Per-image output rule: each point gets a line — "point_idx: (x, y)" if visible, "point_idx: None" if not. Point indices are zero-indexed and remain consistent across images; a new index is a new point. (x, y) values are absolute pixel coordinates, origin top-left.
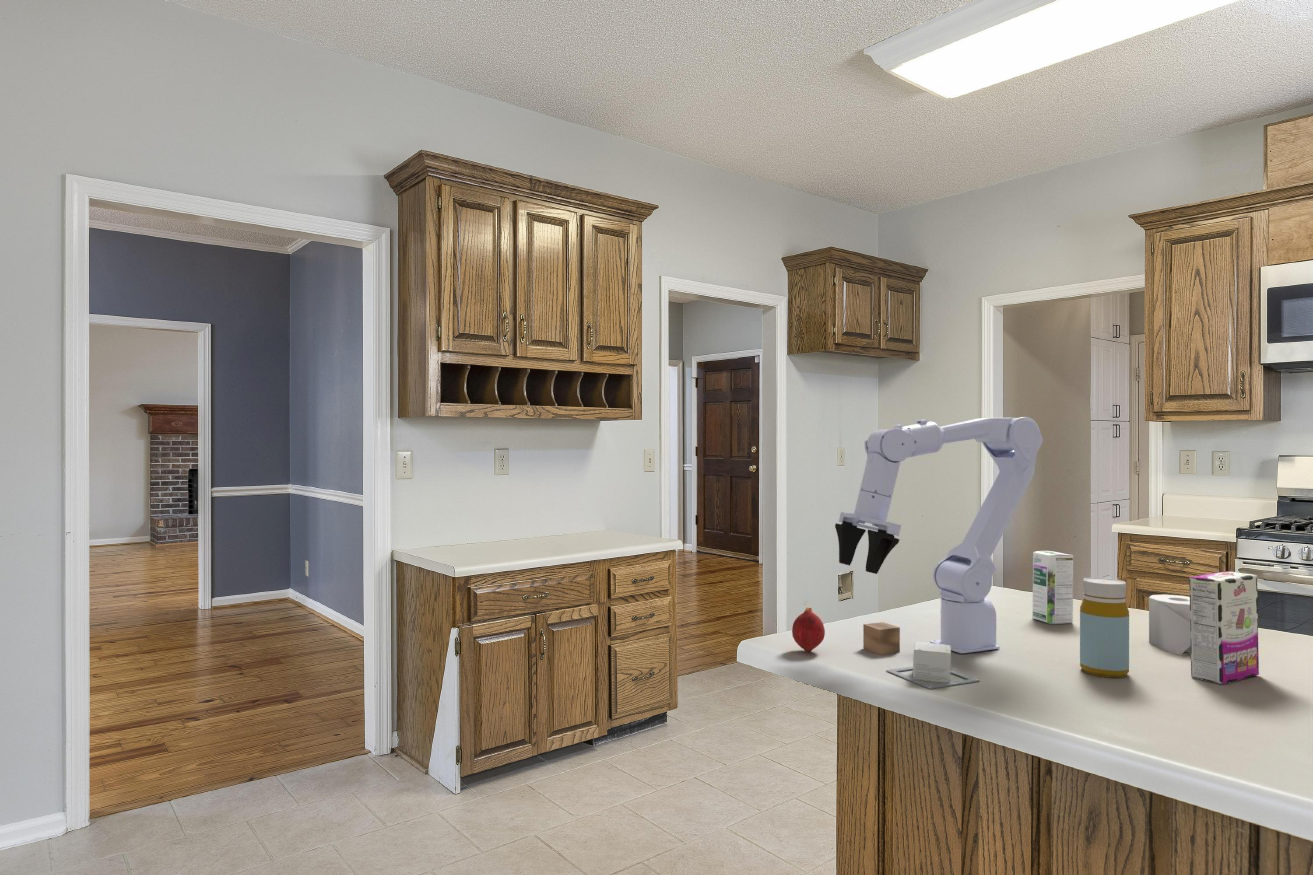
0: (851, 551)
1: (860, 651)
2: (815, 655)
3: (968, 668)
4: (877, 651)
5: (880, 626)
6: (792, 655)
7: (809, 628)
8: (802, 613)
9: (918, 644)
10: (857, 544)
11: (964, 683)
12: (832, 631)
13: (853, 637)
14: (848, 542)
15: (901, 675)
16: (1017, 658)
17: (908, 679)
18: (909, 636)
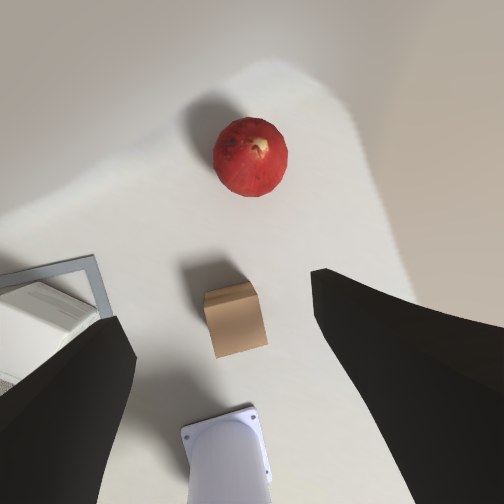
0: (348, 359)
1: (230, 267)
2: None
3: None
4: (211, 292)
5: (231, 322)
6: (226, 125)
7: (217, 142)
8: (263, 133)
9: (36, 327)
10: (382, 431)
11: None
12: (370, 274)
13: None
14: (381, 372)
15: (55, 267)
16: (146, 501)
17: (31, 269)
18: (308, 392)
